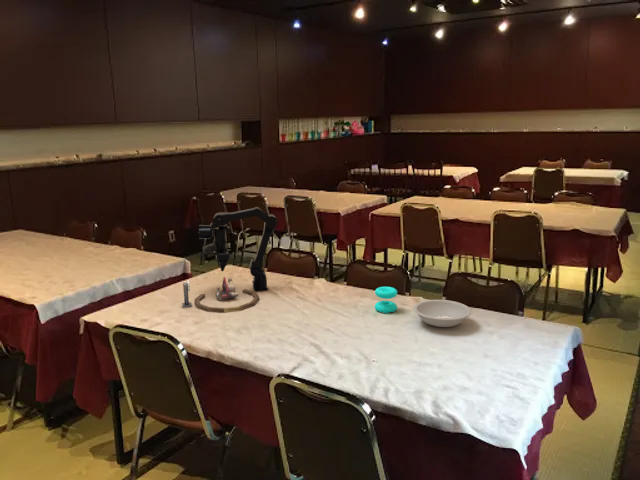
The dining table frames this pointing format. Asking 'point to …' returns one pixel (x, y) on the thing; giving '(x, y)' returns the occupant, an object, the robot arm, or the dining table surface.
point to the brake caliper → (226, 291)
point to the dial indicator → (186, 295)
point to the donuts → (386, 294)
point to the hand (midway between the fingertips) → (220, 268)
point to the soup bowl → (442, 312)
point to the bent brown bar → (228, 309)
